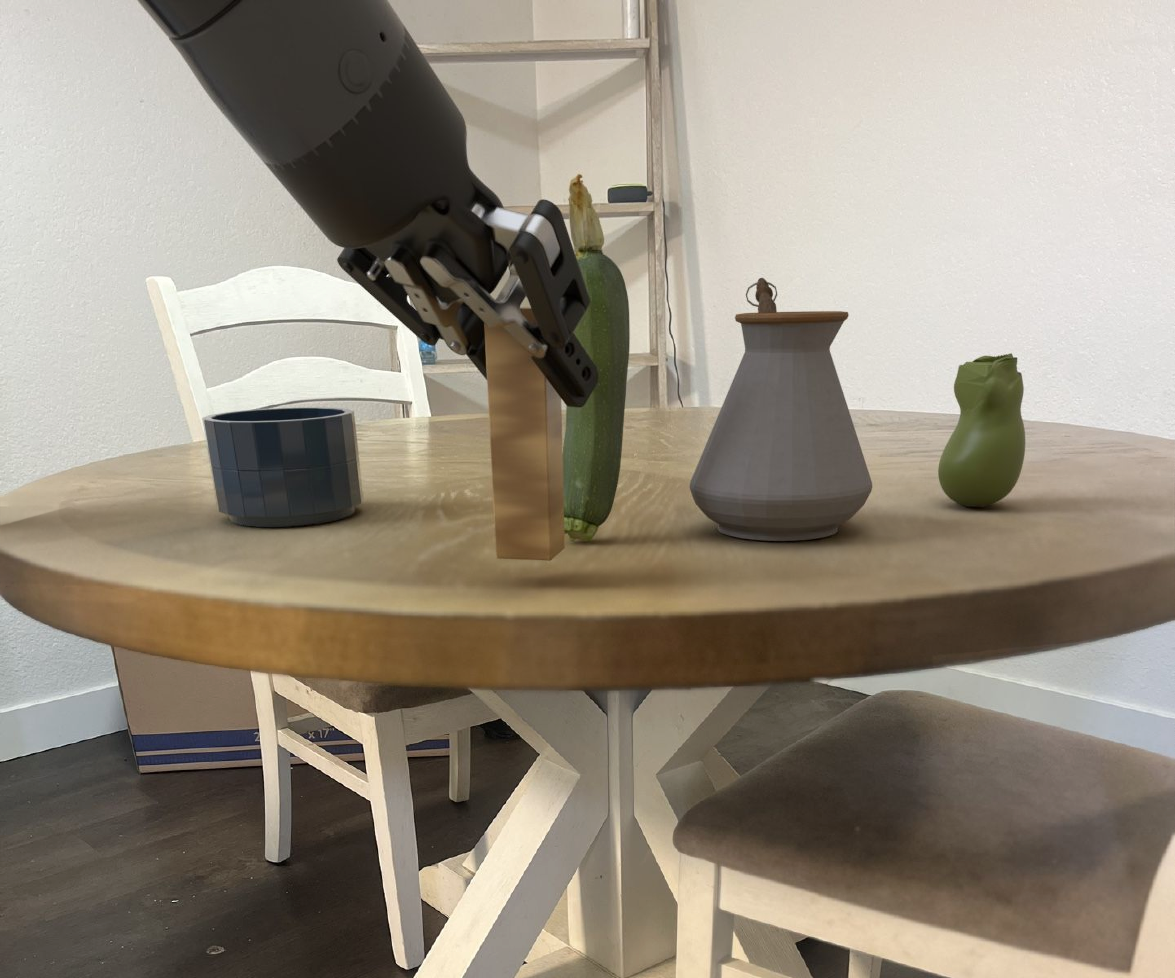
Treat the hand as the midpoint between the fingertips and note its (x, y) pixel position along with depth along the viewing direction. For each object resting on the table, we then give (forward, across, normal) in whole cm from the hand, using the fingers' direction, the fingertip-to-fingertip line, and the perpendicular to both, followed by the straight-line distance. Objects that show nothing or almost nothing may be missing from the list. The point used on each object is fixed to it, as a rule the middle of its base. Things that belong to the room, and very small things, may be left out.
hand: (551, 390), depth 54 cm
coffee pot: (+22, +1, -8) cm, 24 cm away
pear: (+30, -9, -16) cm, 35 cm away
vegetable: (+12, +4, +2) cm, 13 cm away
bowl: (+8, +28, +6) cm, 30 cm away
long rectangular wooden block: (+4, 0, +7) cm, 8 cm away
